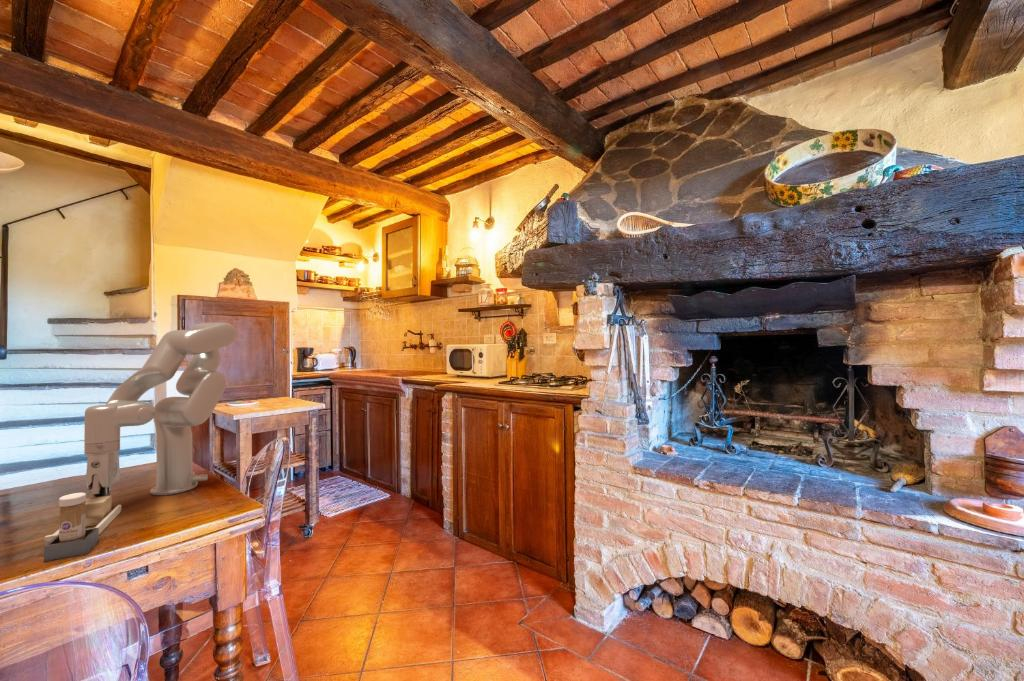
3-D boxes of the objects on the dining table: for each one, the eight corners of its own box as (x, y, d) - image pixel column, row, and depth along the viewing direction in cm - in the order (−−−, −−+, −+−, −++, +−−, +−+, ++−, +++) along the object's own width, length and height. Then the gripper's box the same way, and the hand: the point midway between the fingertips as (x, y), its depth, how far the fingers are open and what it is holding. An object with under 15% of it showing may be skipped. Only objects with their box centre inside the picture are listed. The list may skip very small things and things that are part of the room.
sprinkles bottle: (55, 557, 97) (55, 500, 97) (63, 548, 101) (63, 494, 101) (82, 552, 100) (81, 496, 100) (89, 544, 104) (89, 490, 104)
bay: (121, 511, 124) (121, 501, 124) (92, 541, 105) (92, 529, 105) (81, 517, 119) (81, 506, 119) (44, 549, 101) (44, 537, 101)
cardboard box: (111, 515, 120) (111, 494, 120) (103, 523, 115) (103, 502, 115) (82, 520, 117) (82, 498, 117) (73, 528, 112) (73, 506, 112)
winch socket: (98, 541, 105) (98, 527, 105) (86, 553, 99) (86, 539, 99) (58, 548, 102) (58, 533, 102) (43, 561, 95) (43, 546, 95)
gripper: (109, 451, 117) (109, 516, 117) (128, 440, 131) (127, 498, 130) (73, 454, 114) (72, 521, 114) (95, 443, 127) (95, 503, 127)
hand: (102, 509), depth 122 cm, fingers closed
